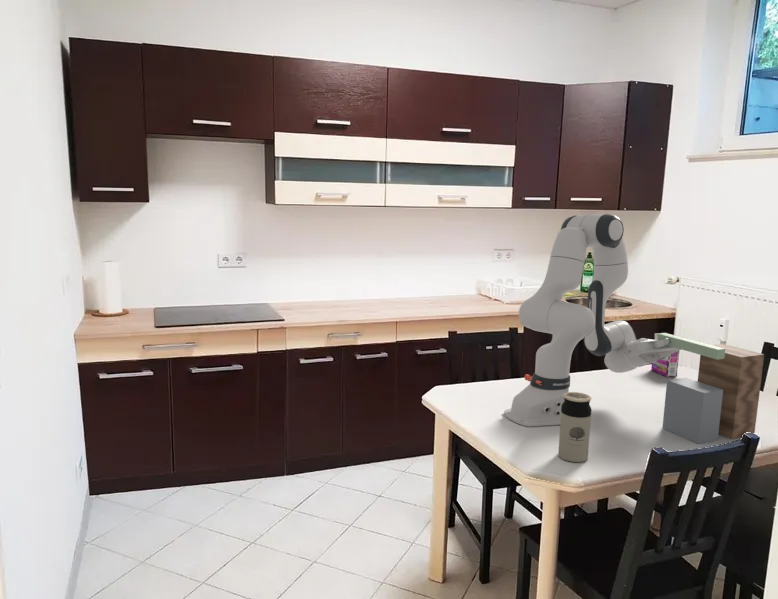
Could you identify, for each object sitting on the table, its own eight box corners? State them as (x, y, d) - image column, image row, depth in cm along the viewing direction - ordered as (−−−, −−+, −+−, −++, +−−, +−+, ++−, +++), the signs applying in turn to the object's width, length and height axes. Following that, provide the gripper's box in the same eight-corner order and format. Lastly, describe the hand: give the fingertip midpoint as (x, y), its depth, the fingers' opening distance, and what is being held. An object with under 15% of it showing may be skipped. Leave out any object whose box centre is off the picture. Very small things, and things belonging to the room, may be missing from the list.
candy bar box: (677, 377, 246) (681, 338, 244) (666, 377, 246) (670, 339, 243) (660, 369, 257) (664, 332, 255) (650, 369, 256) (653, 333, 254)
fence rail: (717, 359, 173) (718, 349, 173) (657, 342, 193) (658, 333, 193) (724, 358, 174) (725, 348, 174) (664, 341, 194) (664, 332, 194)
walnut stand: (731, 439, 181) (741, 357, 177) (693, 423, 194) (701, 346, 190) (754, 434, 185) (764, 354, 181) (714, 419, 198) (723, 344, 194)
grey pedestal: (698, 444, 177) (704, 392, 175) (662, 428, 190) (667, 380, 187) (717, 440, 180) (723, 390, 178) (680, 424, 193) (685, 377, 190)
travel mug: (559, 449, 172) (563, 390, 169) (588, 454, 169) (593, 393, 166) (556, 460, 165) (560, 398, 162) (586, 465, 162) (591, 402, 159)
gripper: (616, 345, 198) (646, 333, 186) (662, 340, 206) (693, 328, 193) (622, 363, 196) (653, 352, 184) (668, 357, 204) (700, 346, 192)
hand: (674, 339), depth 189 cm, fingers closed on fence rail, 3 cm apart
